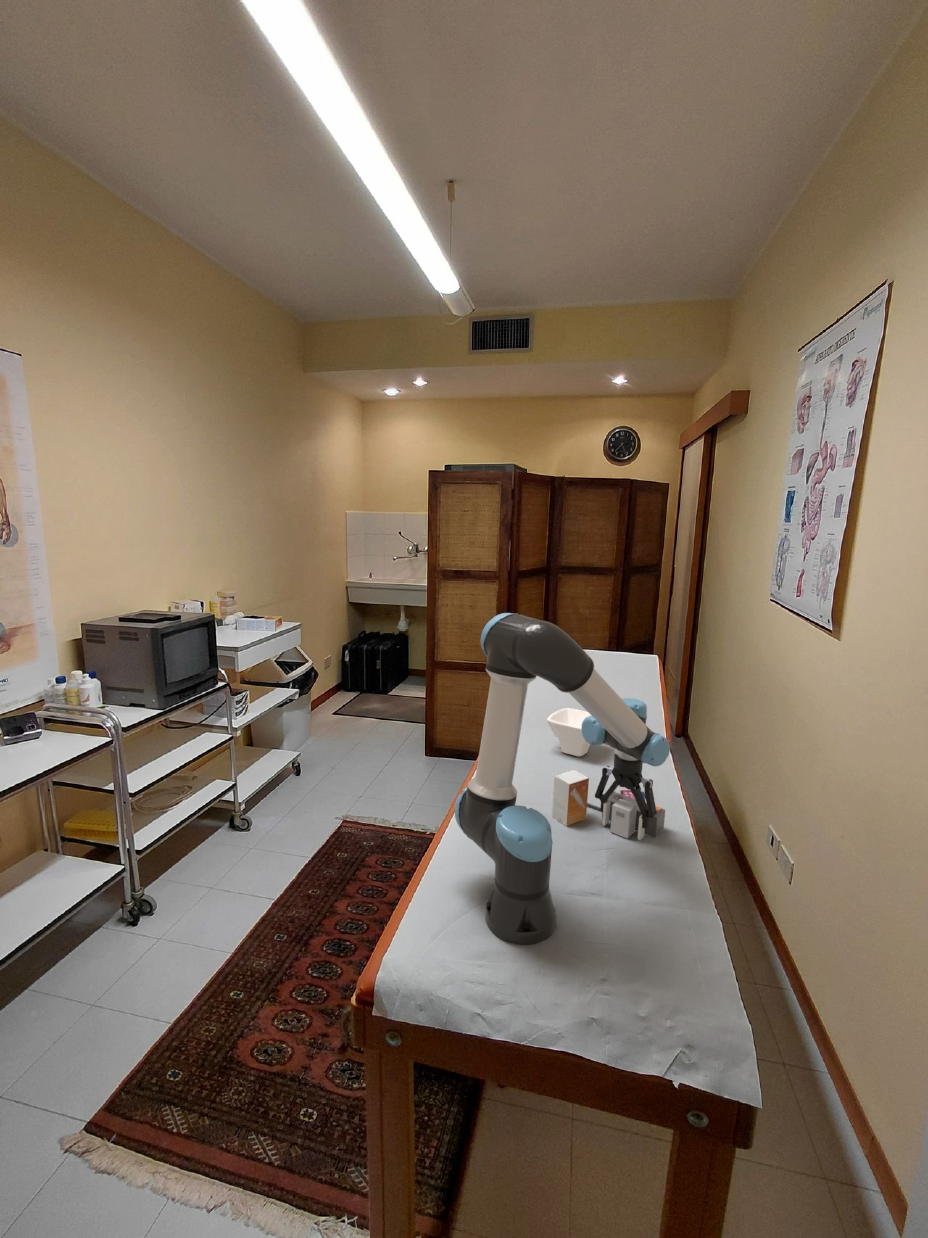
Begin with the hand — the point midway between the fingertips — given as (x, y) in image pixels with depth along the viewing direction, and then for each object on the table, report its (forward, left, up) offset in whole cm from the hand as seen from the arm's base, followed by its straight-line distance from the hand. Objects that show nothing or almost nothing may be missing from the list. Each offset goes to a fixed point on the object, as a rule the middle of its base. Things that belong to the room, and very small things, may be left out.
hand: (622, 830), depth 152 cm
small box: (-4, +15, -1) cm, 15 cm away
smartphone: (+18, +4, -1) cm, 19 cm away
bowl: (+40, +37, -1) cm, 54 cm away
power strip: (+7, +4, -1) cm, 8 cm away
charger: (+2, 0, 0) cm, 2 cm away
